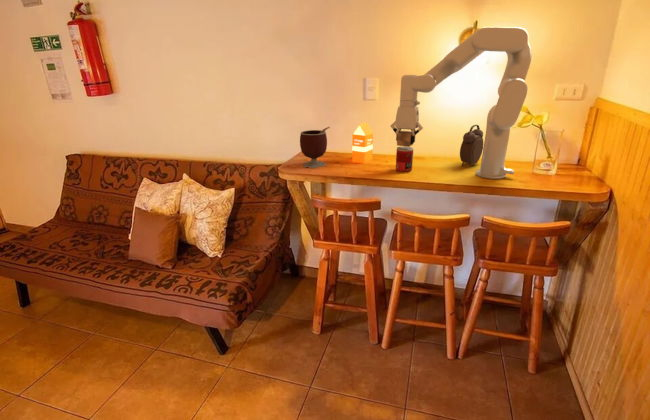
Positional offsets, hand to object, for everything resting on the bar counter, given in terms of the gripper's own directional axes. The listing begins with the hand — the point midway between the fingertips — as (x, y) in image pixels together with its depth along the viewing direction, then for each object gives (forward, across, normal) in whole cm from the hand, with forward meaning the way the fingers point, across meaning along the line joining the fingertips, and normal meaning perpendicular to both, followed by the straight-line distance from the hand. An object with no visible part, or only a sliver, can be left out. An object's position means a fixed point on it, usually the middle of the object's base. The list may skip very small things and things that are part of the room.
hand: (405, 142), depth 167 cm
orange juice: (+14, +26, -8) cm, 30 cm away
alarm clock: (+14, -26, -24) cm, 38 cm away
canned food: (+14, 0, 0) cm, 14 cm away
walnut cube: (+1, 0, 0) cm, 1 cm away
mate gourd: (+14, +44, +11) cm, 47 cm away
